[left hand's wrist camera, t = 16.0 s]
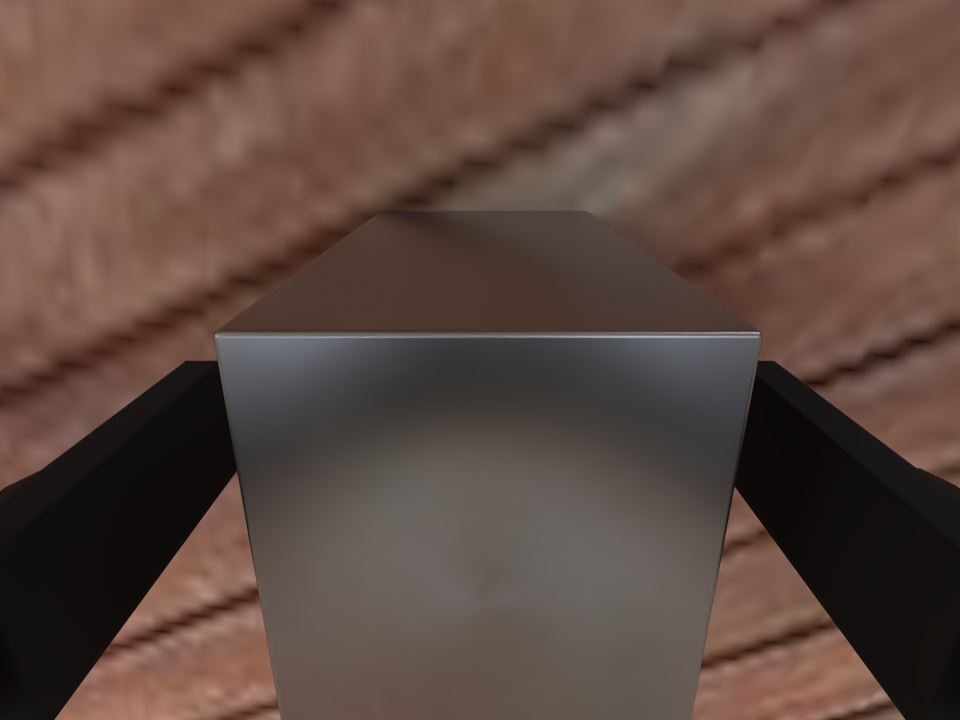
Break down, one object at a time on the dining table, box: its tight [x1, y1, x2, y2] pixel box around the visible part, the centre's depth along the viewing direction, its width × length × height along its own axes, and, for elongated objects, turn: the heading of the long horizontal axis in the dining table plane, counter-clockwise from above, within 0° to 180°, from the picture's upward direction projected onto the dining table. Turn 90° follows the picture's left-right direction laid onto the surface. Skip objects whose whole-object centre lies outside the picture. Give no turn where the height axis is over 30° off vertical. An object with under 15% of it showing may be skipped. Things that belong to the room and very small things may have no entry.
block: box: [214, 212, 762, 720], centre depth 13 cm, size 6×8×12 cm
